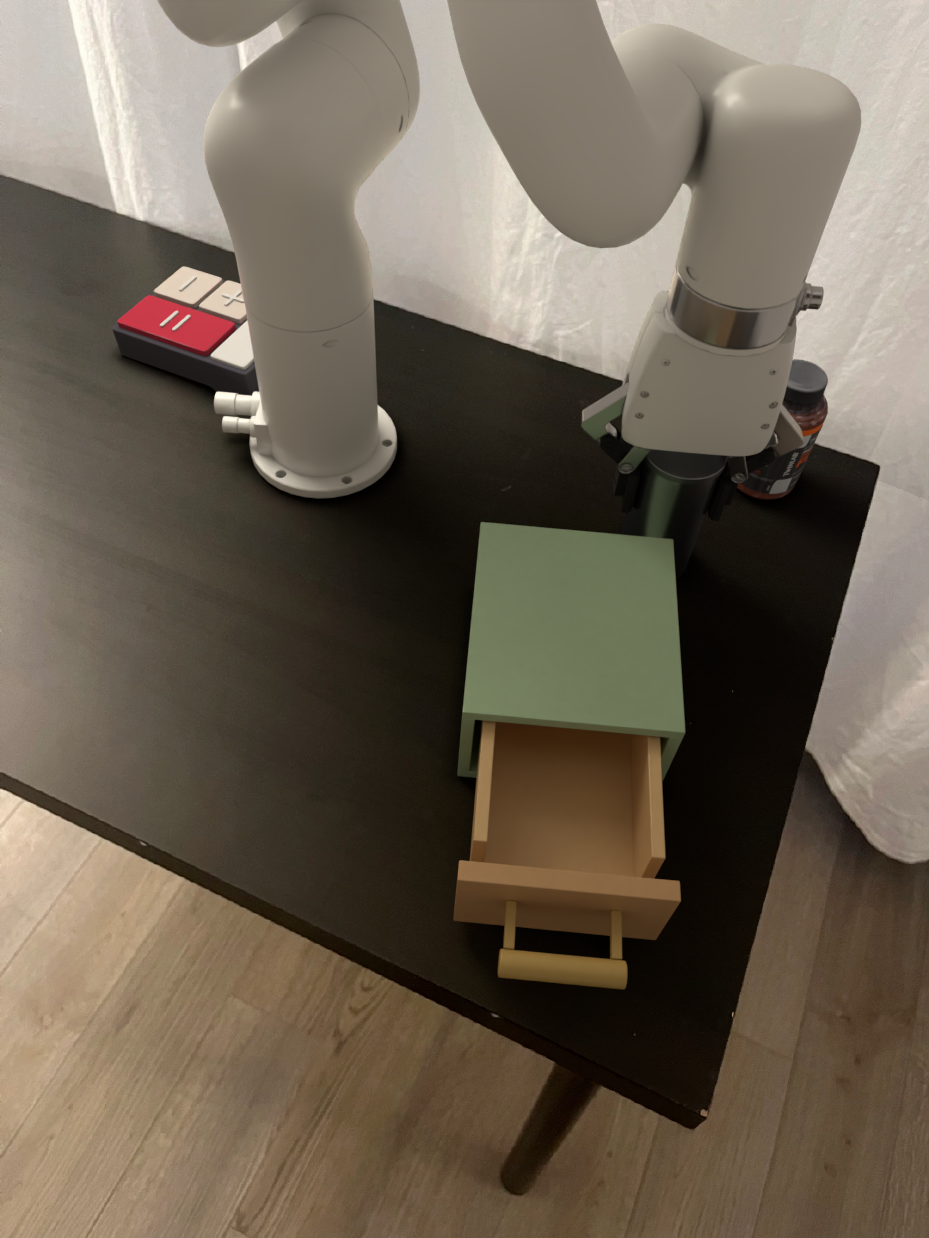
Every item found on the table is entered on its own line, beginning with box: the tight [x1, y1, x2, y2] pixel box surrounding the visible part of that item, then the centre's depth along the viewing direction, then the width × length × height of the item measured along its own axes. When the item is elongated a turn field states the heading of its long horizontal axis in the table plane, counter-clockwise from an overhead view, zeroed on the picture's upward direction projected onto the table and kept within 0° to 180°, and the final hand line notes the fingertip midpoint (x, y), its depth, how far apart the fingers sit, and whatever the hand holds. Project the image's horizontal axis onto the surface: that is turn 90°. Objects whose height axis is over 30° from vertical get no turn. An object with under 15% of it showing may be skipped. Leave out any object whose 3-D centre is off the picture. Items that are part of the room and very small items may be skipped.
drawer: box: [453, 720, 682, 990], centre depth 58 cm, size 19×12×7 cm, turn 175°
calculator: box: [112, 266, 259, 396], centre depth 89 cm, size 11×4×15 cm
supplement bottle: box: [737, 358, 829, 501], centre depth 79 cm, size 6×6×11 cm
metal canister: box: [619, 449, 727, 581], centre depth 73 cm, size 6×6×12 cm
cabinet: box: [456, 521, 686, 783], centre depth 66 cm, size 16×14×9 cm
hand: (668, 501), depth 72 cm, fingers closed on metal canister, 5 cm apart
